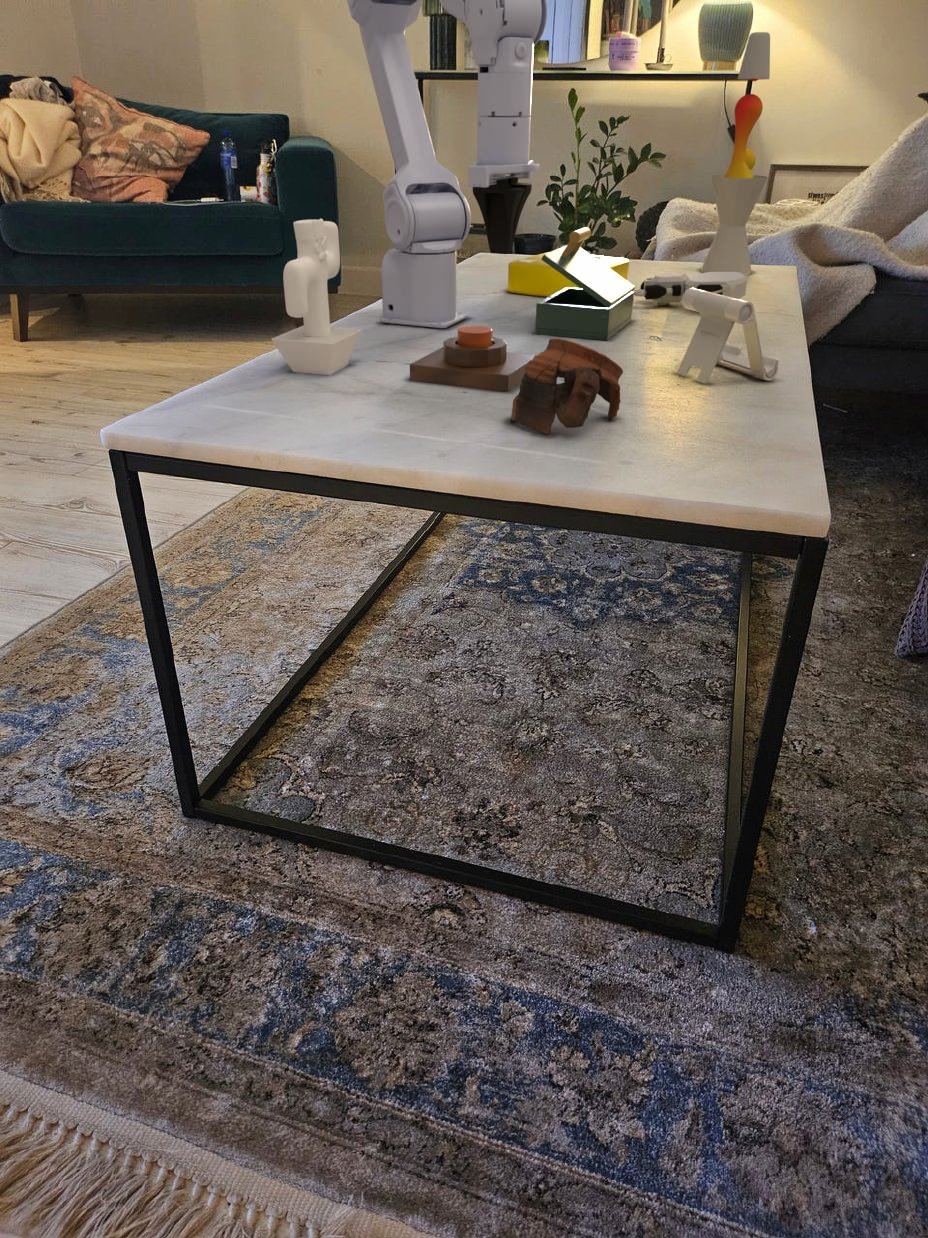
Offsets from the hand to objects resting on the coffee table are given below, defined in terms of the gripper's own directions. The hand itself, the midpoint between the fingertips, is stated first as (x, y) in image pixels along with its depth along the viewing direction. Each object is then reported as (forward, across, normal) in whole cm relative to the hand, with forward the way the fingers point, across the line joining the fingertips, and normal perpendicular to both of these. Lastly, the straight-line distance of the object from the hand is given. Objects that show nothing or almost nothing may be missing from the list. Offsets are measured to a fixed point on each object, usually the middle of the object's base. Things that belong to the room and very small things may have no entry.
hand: (500, 252), depth 101 cm
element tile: (+11, +39, +4) cm, 40 cm away
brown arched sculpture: (+10, -26, -17) cm, 33 cm away
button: (+7, -14, -3) cm, 16 cm away
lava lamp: (+11, +68, -16) cm, 71 cm away
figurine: (+10, -19, +14) cm, 25 cm away
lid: (+4, +14, -7) cm, 16 cm away
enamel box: (+10, +14, -7) cm, 18 cm away
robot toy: (+10, +34, -16) cm, 39 cm away
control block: (+10, -14, -3) cm, 18 cm away
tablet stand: (+10, -3, -27) cm, 29 cm away
